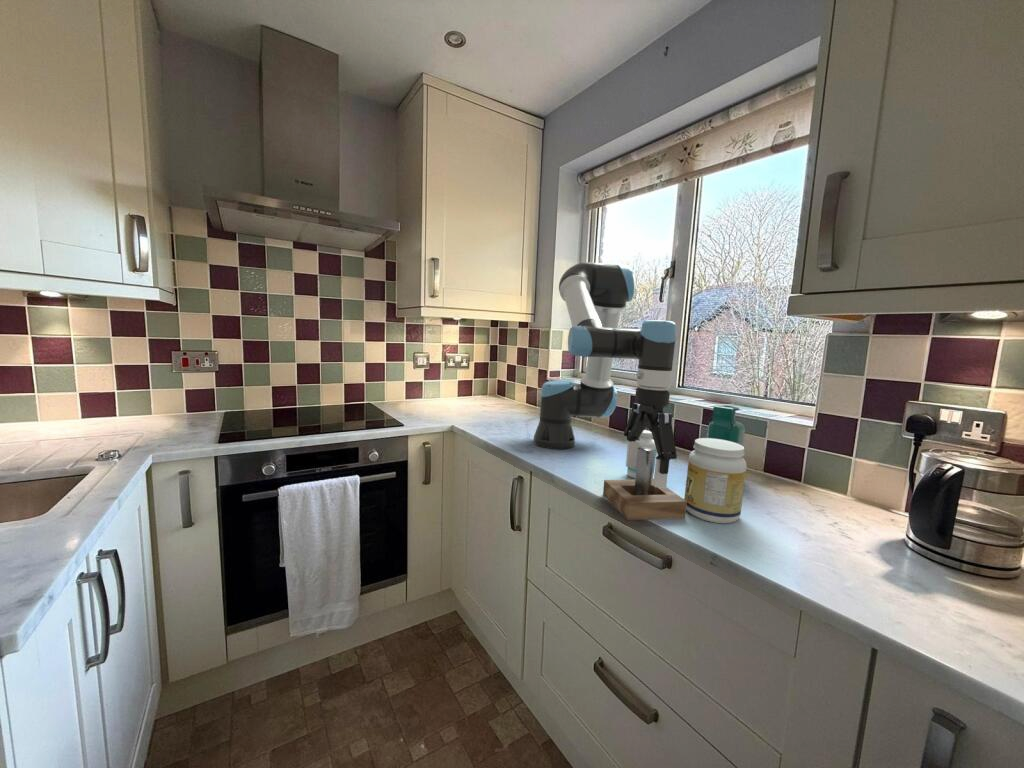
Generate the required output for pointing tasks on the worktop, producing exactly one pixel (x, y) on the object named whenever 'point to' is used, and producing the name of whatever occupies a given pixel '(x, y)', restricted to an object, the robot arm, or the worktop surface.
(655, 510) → the slot block
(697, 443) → the supplement tub
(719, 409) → the green bottle
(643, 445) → the pill bottle
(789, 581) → the worktop surface
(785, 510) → the worktop surface
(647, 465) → the pin
